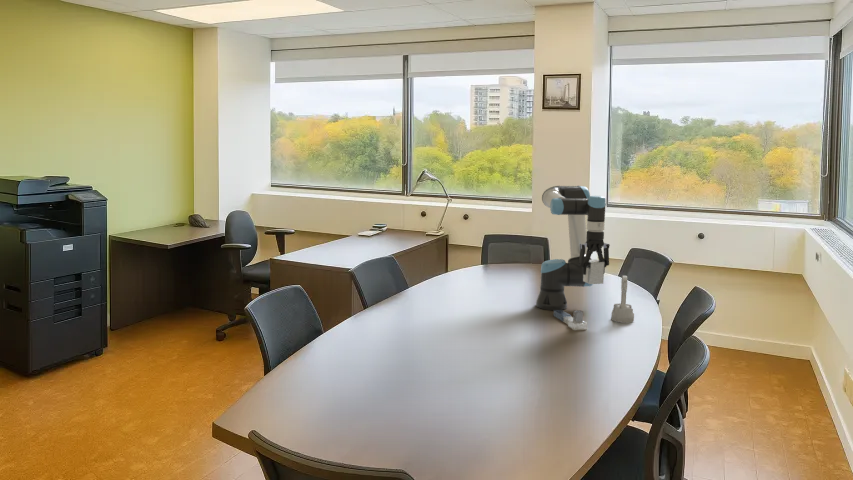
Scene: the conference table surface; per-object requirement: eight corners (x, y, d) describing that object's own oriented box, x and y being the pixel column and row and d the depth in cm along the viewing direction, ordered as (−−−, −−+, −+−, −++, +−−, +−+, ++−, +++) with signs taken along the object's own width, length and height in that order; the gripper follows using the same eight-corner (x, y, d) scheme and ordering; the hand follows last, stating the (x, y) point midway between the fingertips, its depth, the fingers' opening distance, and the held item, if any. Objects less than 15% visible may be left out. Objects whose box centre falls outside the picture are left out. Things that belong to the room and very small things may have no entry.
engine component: (612, 321, 300) (634, 323, 298) (614, 277, 297) (637, 279, 295) (610, 315, 311) (632, 317, 309) (612, 273, 307) (635, 274, 305)
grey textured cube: (582, 281, 298) (583, 259, 297) (596, 280, 300) (597, 259, 299) (589, 284, 292) (590, 262, 291) (603, 283, 294) (604, 262, 292)
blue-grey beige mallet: (551, 315, 309) (552, 300, 308) (563, 315, 310) (564, 299, 309) (574, 330, 286) (574, 313, 285) (586, 329, 287) (587, 312, 286)
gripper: (579, 232, 287) (576, 283, 290) (619, 231, 291) (616, 282, 295) (571, 230, 294) (569, 280, 297) (610, 229, 299) (608, 278, 302)
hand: (592, 281), depth 296 cm, fingers closed on grey textured cube, 7 cm apart
